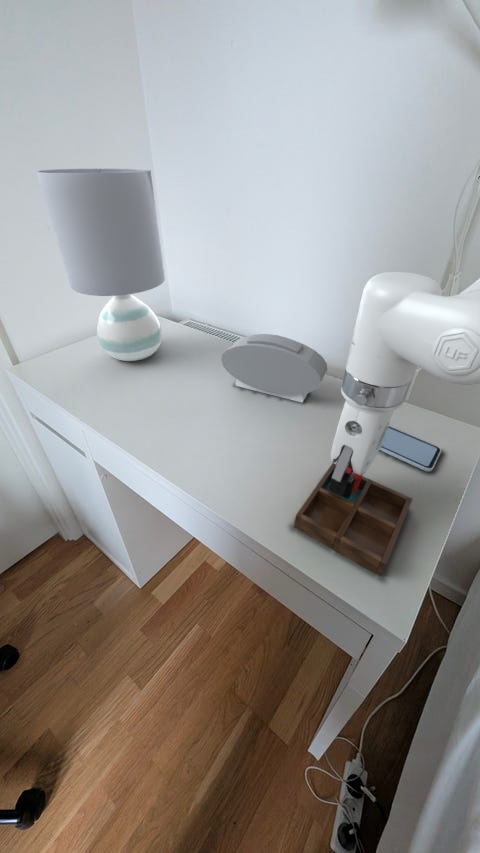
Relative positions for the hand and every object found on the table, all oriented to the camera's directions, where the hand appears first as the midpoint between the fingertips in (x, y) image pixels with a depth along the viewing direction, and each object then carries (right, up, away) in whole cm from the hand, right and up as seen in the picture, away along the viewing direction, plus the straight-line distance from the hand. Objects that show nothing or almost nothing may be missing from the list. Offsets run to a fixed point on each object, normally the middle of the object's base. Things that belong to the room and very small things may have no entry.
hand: (345, 483), depth 53 cm
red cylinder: (0, 0, 0) cm, 0 cm away
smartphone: (+13, +5, +12) cm, 19 cm away
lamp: (-46, +29, +41) cm, 68 cm away
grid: (+1, -5, -1) cm, 5 cm away
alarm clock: (-9, +18, +27) cm, 34 cm away
